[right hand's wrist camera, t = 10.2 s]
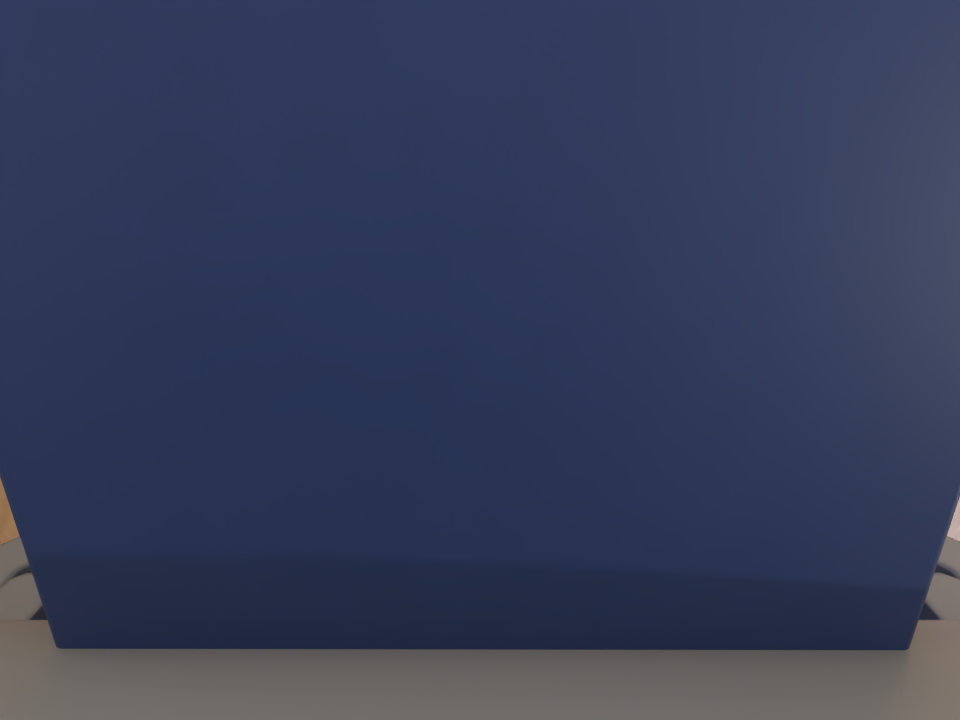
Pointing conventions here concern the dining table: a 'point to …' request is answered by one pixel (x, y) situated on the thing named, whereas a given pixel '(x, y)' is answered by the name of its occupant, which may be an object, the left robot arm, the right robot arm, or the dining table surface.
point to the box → (480, 320)
